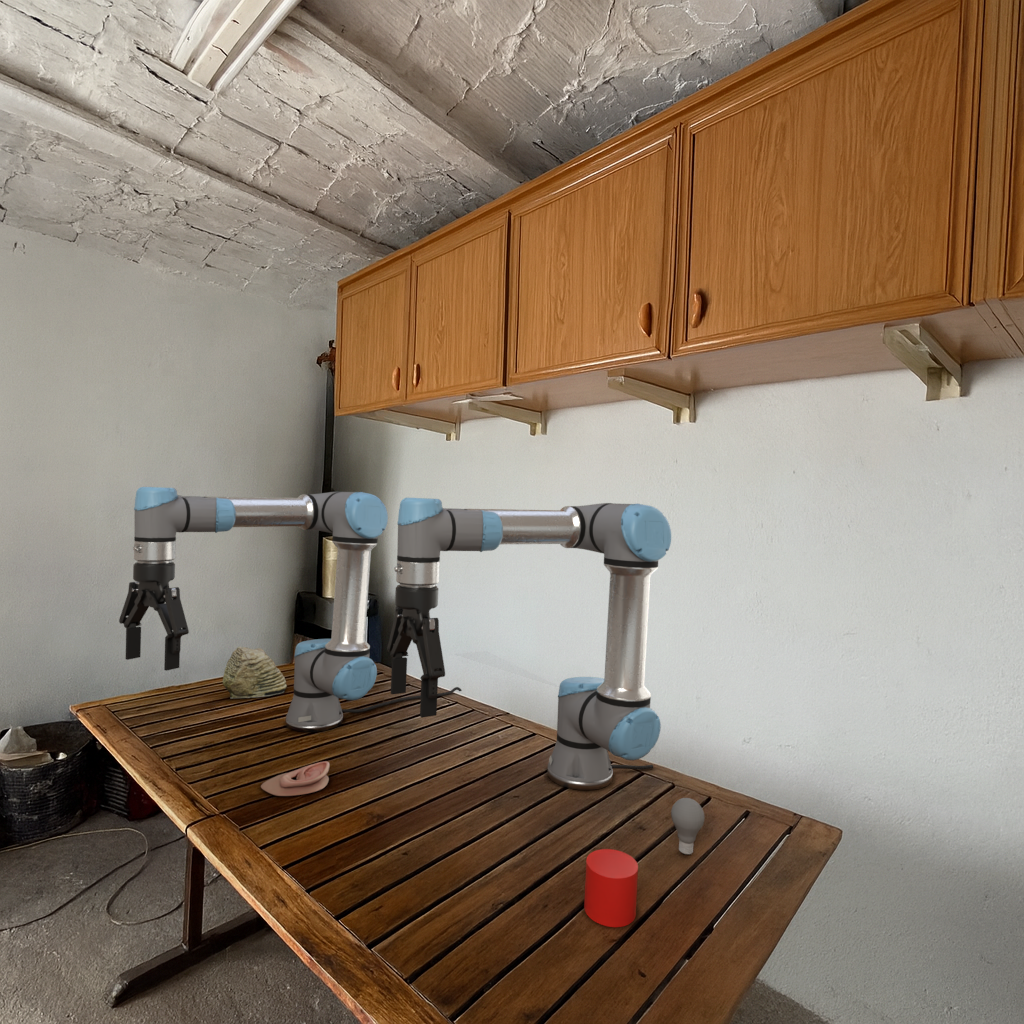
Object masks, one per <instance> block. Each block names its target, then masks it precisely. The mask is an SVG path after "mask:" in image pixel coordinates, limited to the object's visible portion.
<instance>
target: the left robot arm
mask: <svg viewBox="0 0 1024 1024" xmlns="http://www.w3.org/2000/svg"><path fill="white" fill-rule="evenodd" d="M133 511H134V539H133V540H134V542H133V544H134V545H133V546H132V550H133V560H134V561H136V562H135V563H133V566H132V567H133V569H132V579H133V581H130V582H129V583H128V592H127V595H126V598H125V601H124V604H123V607H122V611H121V613H120V616H119V619H118V622H119V624H123V628H125V660H127V661H128V660H133V659H138V658H141V653H142V652H141V646H142V627H141V625H142V623H141V621H142V620H143V618H144V616H145V614H146V613H147V612H148V609H149V608H152V609H153V610H154V611H156V612H157V613H158V616H159V619H160V621H161V624H162V625H163V627H164V631H165V632H166V634H167V635H165V637H164V662H163V663H164V664H163V665H164V667H163V668H164V669H163V670H164V671H167V672H168V671H171V670H176V669H179V668H180V660H181V659H180V658H181V656H180V655H181V645H182V643H181V641H182V637H183V636H185V635H188V634H189V633H190V631H189V627H188V623H187V622H188V621H187V619H186V615H185V611H184V607H183V604H182V599H181V590H180V588H179V587H178V586H176V587H170V582H171V581H173V580H175V578H176V564H175V563H174V560H176V553H177V552H176V550H177V549H176V547H177V545H176V543H177V541H176V540H177V537H176V536H177V533H215V534H217V533H221V532H223V533H224V532H229V531H231V530H232V529H233V528H264V527H265V528H268V527H269V528H272V527H274V528H275V527H278V528H279V527H298V528H299V529H300V530H302V531H306V530H307V531H309V530H310V531H318V532H319V531H320V532H325V533H330V534H332V539H331V541H332V544H333V545H334V546H335V547H336V548H337V553H336V554H337V555H336V571H335V583H334V597H333V610H332V625H331V638H318V639H308V640H304V641H300V642H299V643H297V644H296V646H295V650H294V655H293V657H294V672H293V673H294V674H293V695H292V696H293V697H292V699H291V702H290V704H289V708H288V711H287V713H286V715H285V726H286V728H287V729H289V730H291V731H294V732H295V731H296V732H301V733H316V732H325V731H329V730H332V729H335V728H337V727H339V726H340V725H342V723H343V722H344V714H343V713H351V714H359V713H365V712H368V711H371V710H374V709H377V708H380V707H385V706H387V705H392V704H395V703H400V702H405V701H411V700H419V699H421V694H420V695H413V696H406V697H401V698H396V699H391V700H388V701H385V702H381V703H378V704H377V703H376V704H374V705H371V706H368V707H364V708H358V709H353V708H352V709H350V708H342V706H341V702H340V700H345V701H357V700H359V699H362V698H363V697H364V696H366V695H367V694H368V692H369V691H370V690H371V689H372V688H373V687H374V685H375V683H376V680H377V675H378V669H377V664H376V663H375V662H374V660H373V659H372V658H370V652H371V645H370V644H369V643H368V642H367V641H366V628H367V614H368V613H367V612H368V600H369V599H368V598H369V597H368V596H369V584H370V571H371V570H370V569H371V558H372V557H371V555H372V550H373V549H374V548H375V547H377V545H378V538H379V536H381V535H382V534H383V532H384V531H385V530H386V528H387V526H388V522H389V516H388V510H387V507H386V505H385V504H384V502H383V501H382V500H381V498H379V497H378V496H377V495H374V494H372V493H368V492H364V491H329V492H322V493H308V494H307V493H303V494H300V495H299V496H297V497H270V496H268V497H267V496H266V497H265V496H263V497H262V496H261V497H260V496H207V495H205V496H200V495H199V496H195V495H179V494H178V491H177V489H176V488H175V487H159V486H156V487H155V486H141V487H139V488H137V490H136V492H135V499H134V507H133ZM456 691H457V692H462V691H463V690H462V689H461V688H460V687H459V686H456V687H453V688H452V689H450V690H449V691H446V692H445V691H444V692H439V693H438V692H437V697H442V696H444V697H445V696H449V695H452V694H453V693H455V692H456Z"/></svg>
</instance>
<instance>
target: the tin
mask: <svg viewBox="0 0 1024 1024" xmlns="http://www.w3.org/2000/svg"><path fill="white" fill-rule="evenodd" d="M585 861H586V862H585V878H584V879H585V880H584V882H585V883H584V899H583V901H584V902H583V903H584V904H583V910H584V912H585V914H586V915H587V917H588V918H589V919H590V920H592V921H593V922H595V923H597V924H599V925H601V926H604V927H607V928H622V927H626V926H629V925H630V924H632V923H633V922H634V921H635V919H636V917H637V897H638V881H639V879H638V876H639V865H638V861H636V859H635V858H634V857H633V856H631V855H630V854H628V853H626V852H624V851H621V850H617V849H611V848H601V849H596V850H594V851H592V852H590V853H589V854H588V855H587V857H586V860H585Z"/></svg>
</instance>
